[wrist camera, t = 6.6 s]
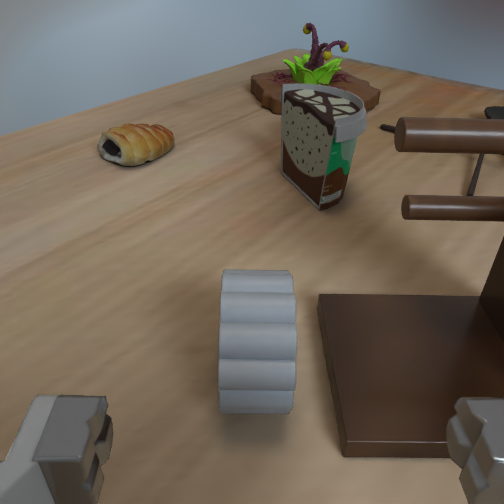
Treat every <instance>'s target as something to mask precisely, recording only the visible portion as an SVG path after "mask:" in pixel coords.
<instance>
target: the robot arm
mask: <svg viewBox="0 0 504 504" xmlns="http://www.w3.org/2000/svg"><path fill="white" fill-rule="evenodd" d="M107 408H108V402H107V399H106V396H84V395H37V396H36V397H35V398H34V399H33V400H32V402H31V404H30V406H29V408H28V411H27V413H26V415H25V417H24V420H23V422H22V424H21V426H20V428H19V431H18V433H17V435H16V437H15V440H14V442H13V444H12V446H11V449H10V451H9V453H8V455H7V457H6V460H5V461H0V504H97V503H98V500H99V496H100V492H101V488H102V484H103V480H104V475H103V472H102V468H101V466H102V465H103V464H104V463H105V462H106V461H107V460H108V459H109V457H110V453H111V448H112V441H113V423H112V419H111V417H110V416H109V415H107V414H106V412H107ZM455 410H456V412H457V414H456V415H455V416H453V417H452V418H450V419H449V422H448V424H447V427H446V442H447V446H448V451H449V453H450V456H451V459H452V460H453V461H454V462H455V463H456V464H457V465H458V466H459V467H460V468H461V469H462V471H461V474H460V477H459V480H460V483H461V485H462V488H463V490H464V493H465V496H466V498H467V501H468V503H469V504H504V397H461V398H459V399H458V400H457V402H456V404H455Z"/></svg>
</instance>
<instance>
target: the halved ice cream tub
mask: <svg viewBox="0 0 504 504" xmlns="http://www.w3.org/2000/svg"><path fill="white" fill-rule="evenodd" d="M279 102H282V133H281V173H282V174H283V175H284V176H285V177H286V178H287V179H288V180H289V181H290V182H291V183H292V184H293V185H294V186H295V187H296V188H297V189H298V190H299V191H300V192H301V193H302V194H303V195H304V196H305V197H306V198H307V199H308V200H309V201H310V202H311V203H312V204H313V205H314V206H315V207H316V208H317V209H318V210H322V209H326V208H329V207H331V206H333V205H335V204H337V203H338V202H339V201H340V200H341V199H342V198H343V194H344V190H345V186H346V182H347V178H348V174H349V170H350V165H351V161H352V157H353V153H354V149H355V145H356V141H357V137H358V136H359V135H361V134H362V133H363V132H364V131H365V130H366V127H367V122H366V109H365V107H364V102H363V101H362V99H361V98H359V97H358V96H356V95H355V94H353V93H350V92H348V91H345V90H342V89H338V88H334V87H329V86H323V85H315V84H283V86H282V90H281V94H280V101H279Z"/></svg>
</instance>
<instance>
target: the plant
mask: <svg viewBox="0 0 504 504" xmlns="http://www.w3.org/2000/svg"><path fill="white" fill-rule="evenodd" d="M311 31H312V49H311V55H309V54H308V53H306V54H305V55H303V58H302V59H301V58H299V57H297V56H294V59H295V61H296V63H295V64H294V63H292V62H291V61H289V60H285V59H283V61H284V62H285V64H287V65H288V66H289V68H290V69H285V70H275V71H273V72H268V73H261V74H257V75H253V76H251V92H252V93H253V94H255V95H256V98H257V99H258V100H259V101H260V102H262V107H264V108H268V109H270V110H271V111H272V112H273V113H275V114H282V102H279V101H280V94H281V90H282V86H283V84H315V85H323V86H329V87H334V88H338V89H342V90H345V91H348V92H350V93H353V94H355V95H356V96H358V97H359V98H361V99H362V101H363V102H364V107H365V109H366V112H367V111H368V110H370V109H372V108H374V107H375V105H376V104H378V103H379V97H380V90H379V89H376V88H373V87H371V86H370V85H369V82H367V81H365V80H361V79H358V78H356V77H354V76H352V75H350V74H348V73H346V72H344V71H342V70H340V69H341V67H339V68H337V66H338V65H339V63H340V62H341V61H342V59H341V58H339V59H334V60H332V61H330V62H328V63H327V64H326V65H325V66H324V59H325V60H326V61H327V60H329V59H330V58H331V56H332V53H331V50H330V49H331V48H332V47H333V46H335V45H340V48H341V51H342V52H347V51H348V48H349V47H348V44H347V43H346V42H344V41H339V40H338V41H335V42H332V43H330V44H329V45H328V44H327V43H323V44H321V45H320V46H319V45H318V43H319V42H318V36H317V33H316V28H315V27H314V25H313V24H311V23H307V24H306V25H305V26H304V28H303V32H304V33H305V34H309V33H311ZM325 47H326V48H325ZM324 48H325V49H324ZM323 49H324V50H323ZM322 50H323V51H322ZM295 65H296V66H297V67H296V66H295Z"/></svg>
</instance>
